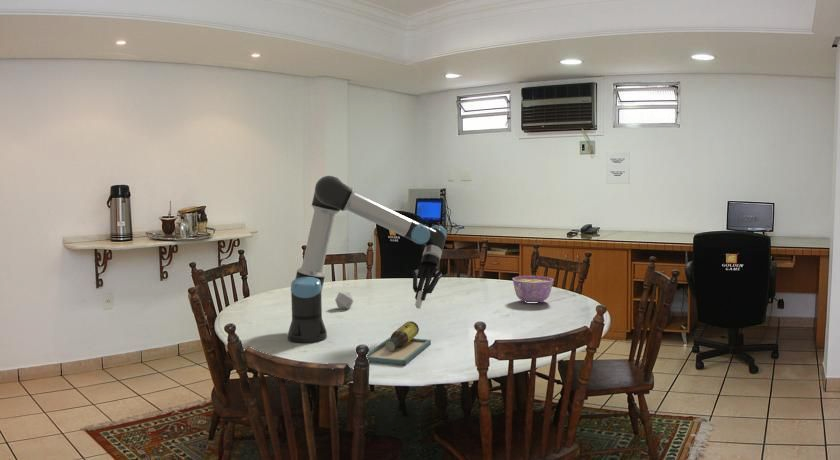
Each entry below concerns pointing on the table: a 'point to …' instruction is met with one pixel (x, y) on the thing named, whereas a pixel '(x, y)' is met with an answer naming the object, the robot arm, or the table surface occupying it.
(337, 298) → the die
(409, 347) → the teal tray
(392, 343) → the sauce bottle
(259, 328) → the table surface
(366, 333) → the table surface
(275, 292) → the table surface
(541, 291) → the bowl of food
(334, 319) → the table surface
